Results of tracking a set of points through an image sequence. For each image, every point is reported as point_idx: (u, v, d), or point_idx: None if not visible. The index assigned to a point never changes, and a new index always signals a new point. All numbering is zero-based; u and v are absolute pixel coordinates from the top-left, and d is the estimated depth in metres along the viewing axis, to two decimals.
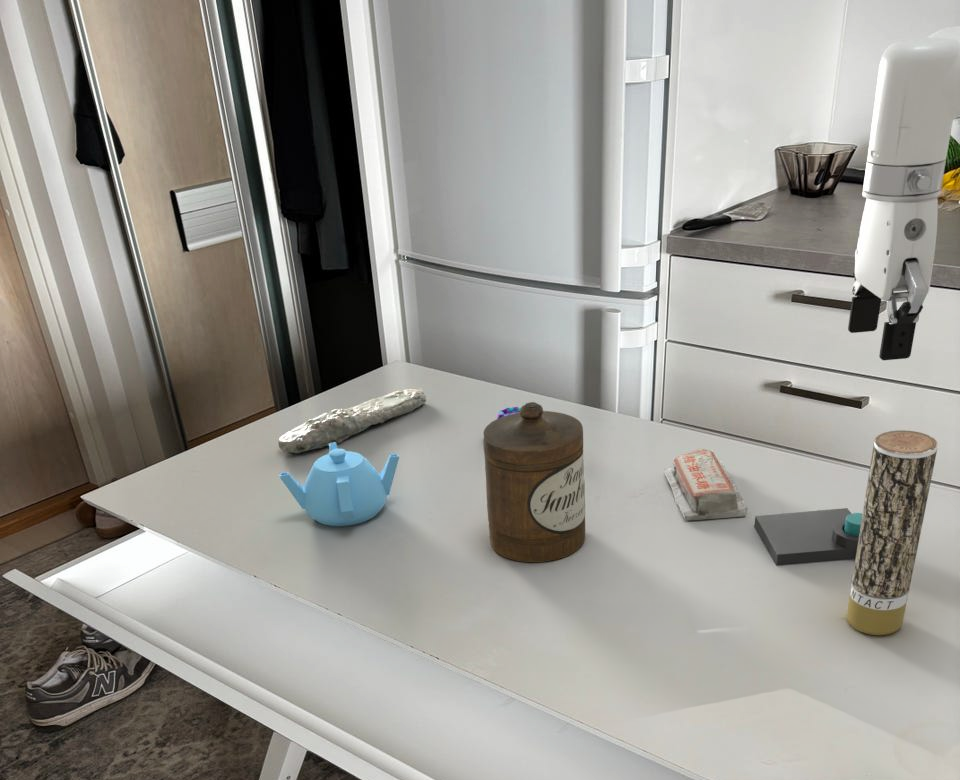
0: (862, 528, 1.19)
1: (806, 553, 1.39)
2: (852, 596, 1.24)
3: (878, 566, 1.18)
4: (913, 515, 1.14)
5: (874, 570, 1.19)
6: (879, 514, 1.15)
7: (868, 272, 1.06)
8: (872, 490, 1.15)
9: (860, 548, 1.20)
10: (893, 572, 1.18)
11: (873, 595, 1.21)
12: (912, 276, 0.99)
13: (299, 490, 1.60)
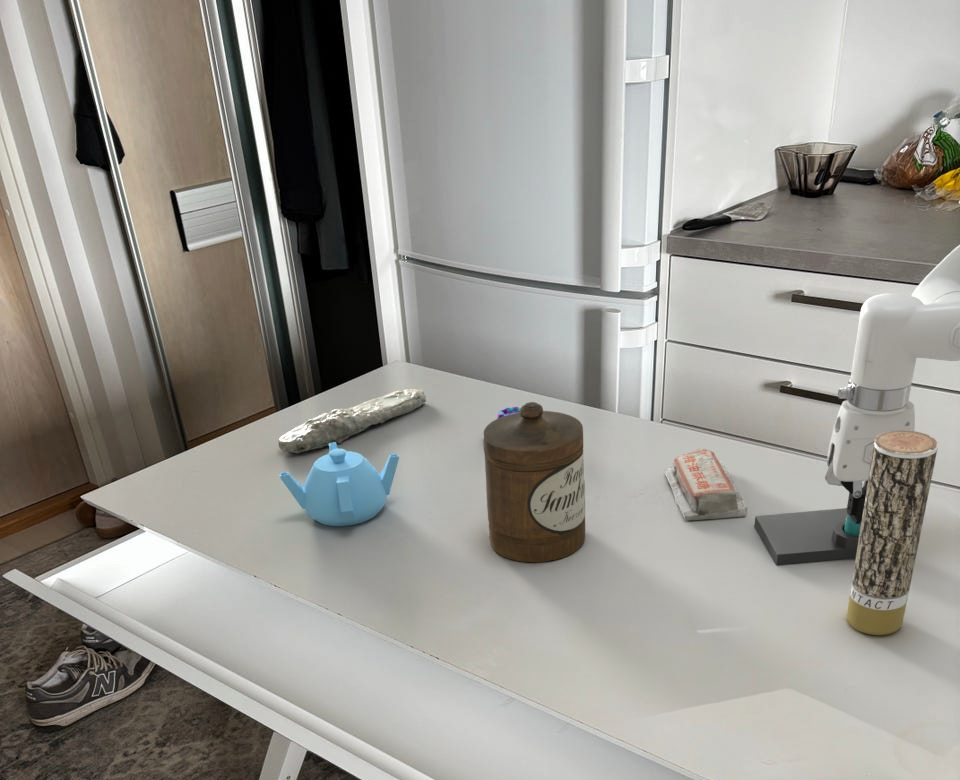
0: (862, 528, 1.19)
1: (806, 553, 1.39)
2: (852, 596, 1.24)
3: (878, 566, 1.18)
4: (913, 515, 1.14)
5: (874, 570, 1.19)
6: (879, 514, 1.15)
7: None
8: (872, 490, 1.15)
9: (860, 548, 1.20)
10: (893, 572, 1.18)
11: (873, 595, 1.21)
12: (829, 466, 1.34)
13: (299, 490, 1.60)
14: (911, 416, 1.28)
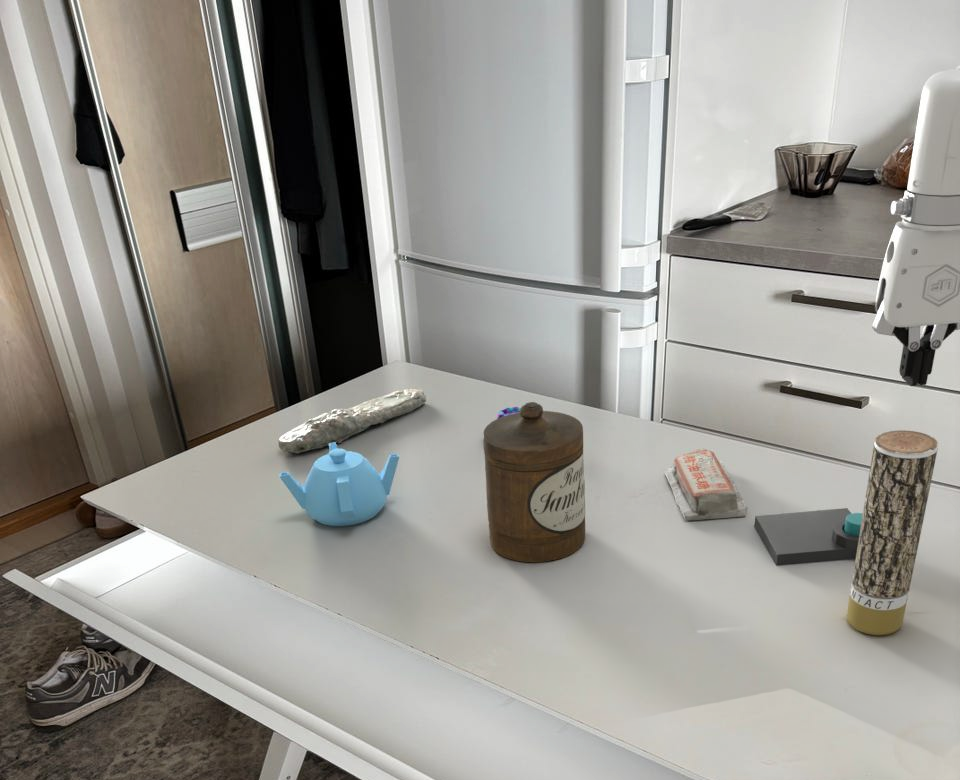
0: (862, 528, 1.19)
1: (806, 553, 1.39)
2: (852, 596, 1.24)
3: (878, 566, 1.18)
4: (913, 515, 1.14)
5: (874, 570, 1.19)
6: (879, 514, 1.15)
7: None
8: (872, 490, 1.15)
9: (860, 548, 1.20)
10: (893, 572, 1.18)
11: (873, 595, 1.21)
12: (879, 310, 1.07)
13: (299, 490, 1.60)
14: None
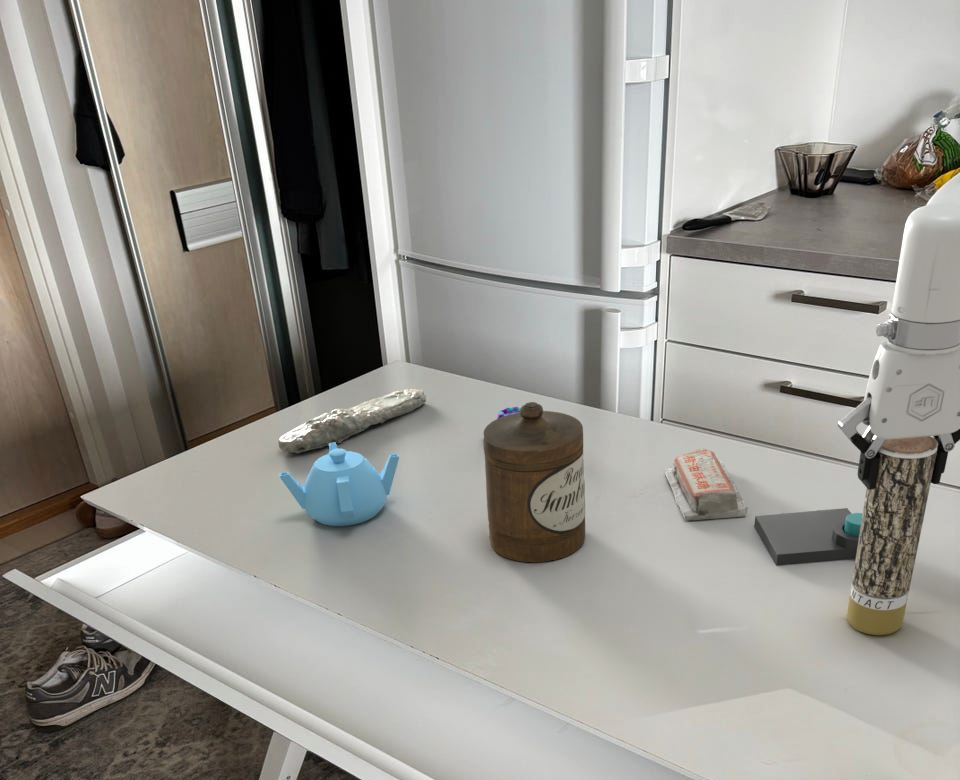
0: (862, 528, 1.19)
1: (806, 553, 1.39)
2: (852, 596, 1.24)
3: (878, 566, 1.18)
4: (913, 515, 1.14)
5: (874, 570, 1.19)
6: (879, 514, 1.15)
7: None
8: (872, 490, 1.15)
9: (860, 548, 1.20)
10: (893, 572, 1.18)
11: (873, 595, 1.21)
12: (852, 410, 1.10)
13: (299, 490, 1.60)
14: None
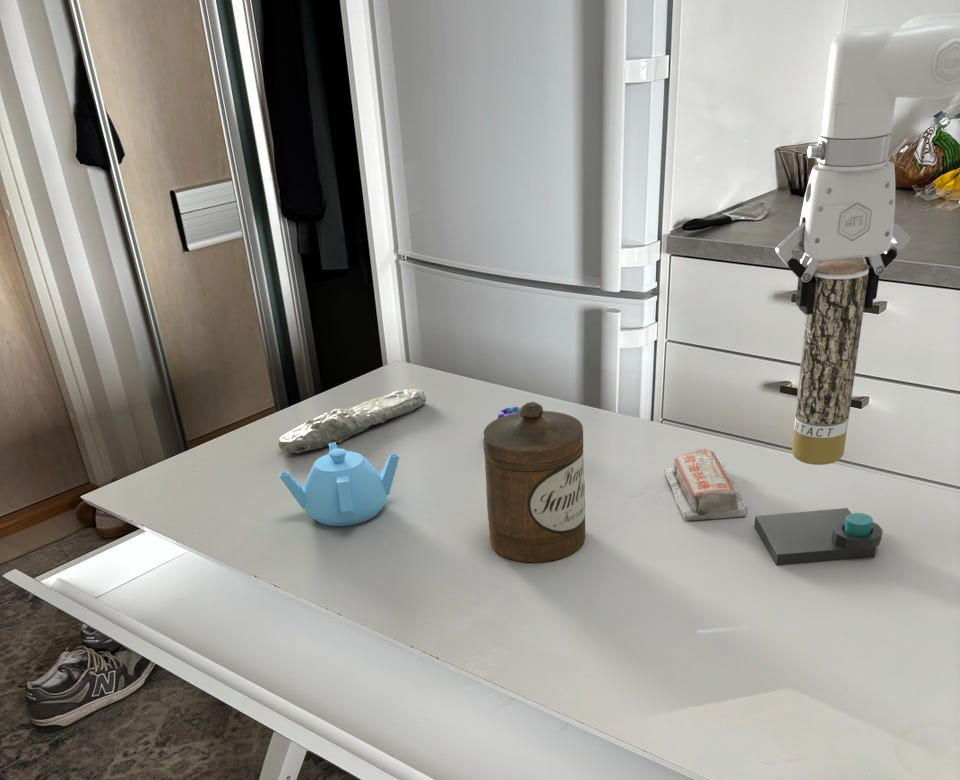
0: (802, 357, 1.26)
1: (806, 553, 1.39)
2: (795, 428, 1.31)
3: (818, 392, 1.26)
4: (848, 338, 1.22)
5: (814, 397, 1.26)
6: (817, 339, 1.23)
7: None
8: (810, 316, 1.22)
9: (801, 377, 1.28)
10: (832, 398, 1.26)
11: (814, 423, 1.28)
12: None
13: (299, 490, 1.60)
14: (891, 175, 1.12)
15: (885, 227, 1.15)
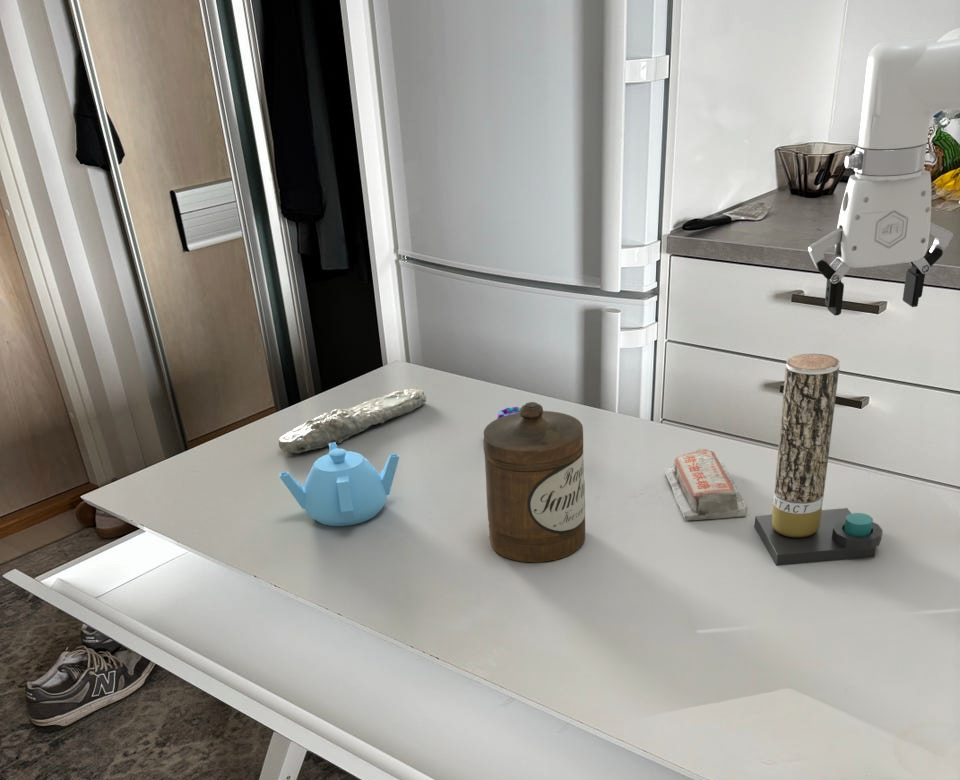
0: (780, 441, 1.37)
1: (806, 553, 1.39)
2: (774, 503, 1.42)
3: (794, 473, 1.36)
4: (821, 426, 1.32)
5: (791, 477, 1.37)
6: (792, 426, 1.33)
7: None
8: (786, 405, 1.33)
9: (779, 459, 1.38)
10: (807, 478, 1.36)
11: (791, 500, 1.39)
12: (823, 237, 1.20)
13: (299, 490, 1.60)
14: (927, 184, 1.15)
15: (921, 234, 1.18)
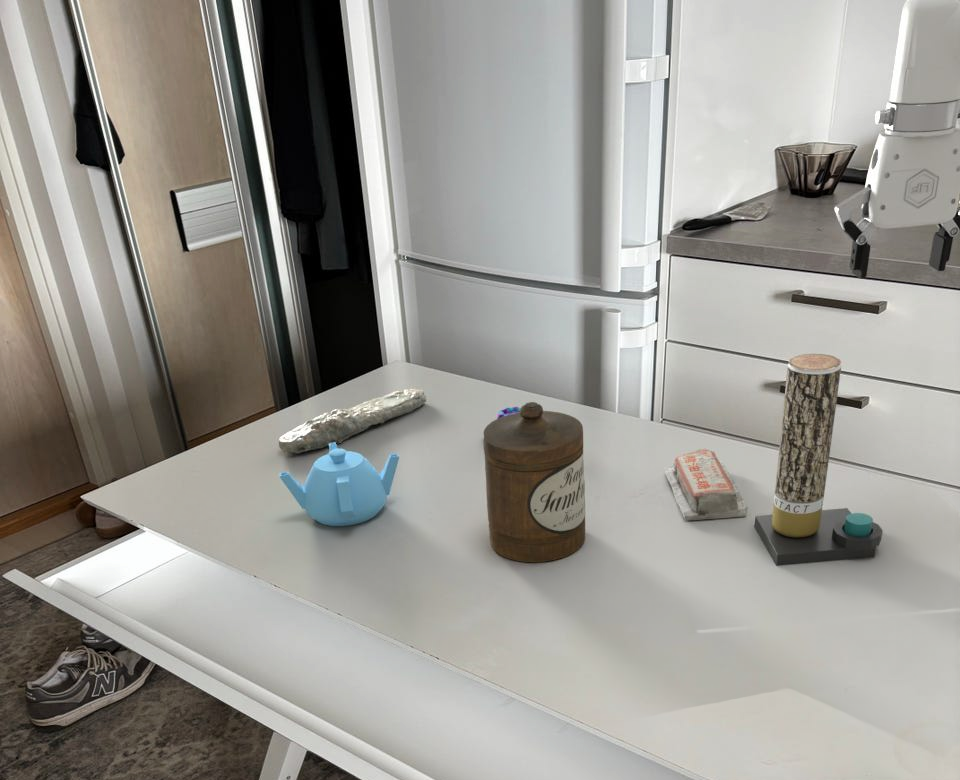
0: (781, 440, 1.37)
1: (806, 553, 1.39)
2: (775, 503, 1.42)
3: (794, 473, 1.36)
4: (822, 426, 1.32)
5: (791, 477, 1.37)
6: (793, 426, 1.33)
7: None
8: (787, 405, 1.33)
9: (779, 458, 1.38)
10: (807, 478, 1.36)
11: (791, 500, 1.39)
12: (851, 196, 1.17)
13: (299, 490, 1.60)
14: (959, 142, 1.12)
15: (951, 194, 1.15)
